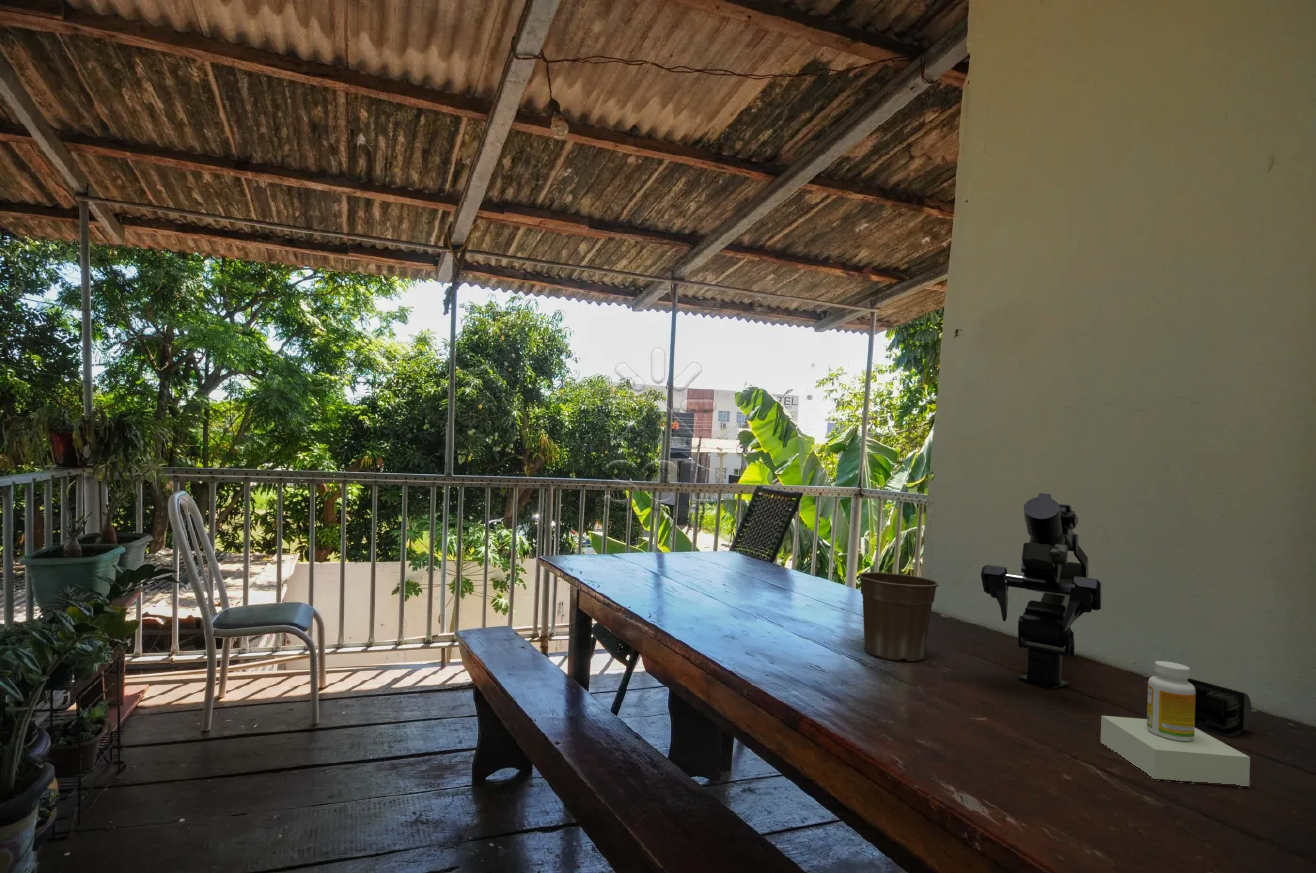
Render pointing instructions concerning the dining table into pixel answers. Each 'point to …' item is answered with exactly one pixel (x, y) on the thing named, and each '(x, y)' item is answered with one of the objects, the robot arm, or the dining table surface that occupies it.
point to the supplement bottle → (1171, 702)
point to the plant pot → (896, 614)
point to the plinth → (1175, 753)
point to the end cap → (1220, 709)
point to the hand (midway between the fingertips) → (1033, 624)
